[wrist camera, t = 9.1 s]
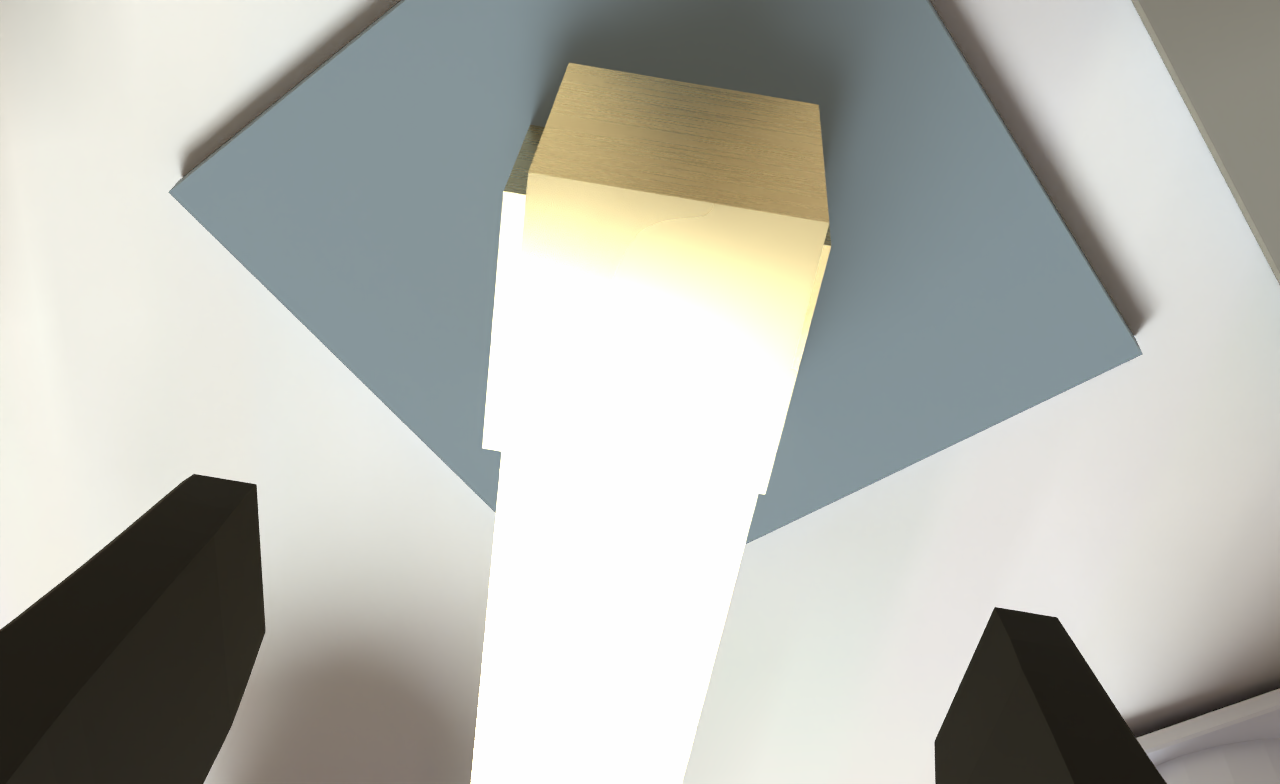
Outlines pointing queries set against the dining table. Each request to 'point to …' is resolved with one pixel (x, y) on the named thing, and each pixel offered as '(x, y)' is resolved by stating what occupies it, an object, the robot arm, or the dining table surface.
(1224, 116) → the cover plate
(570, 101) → the t key
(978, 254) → the pad
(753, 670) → the dining table surface
